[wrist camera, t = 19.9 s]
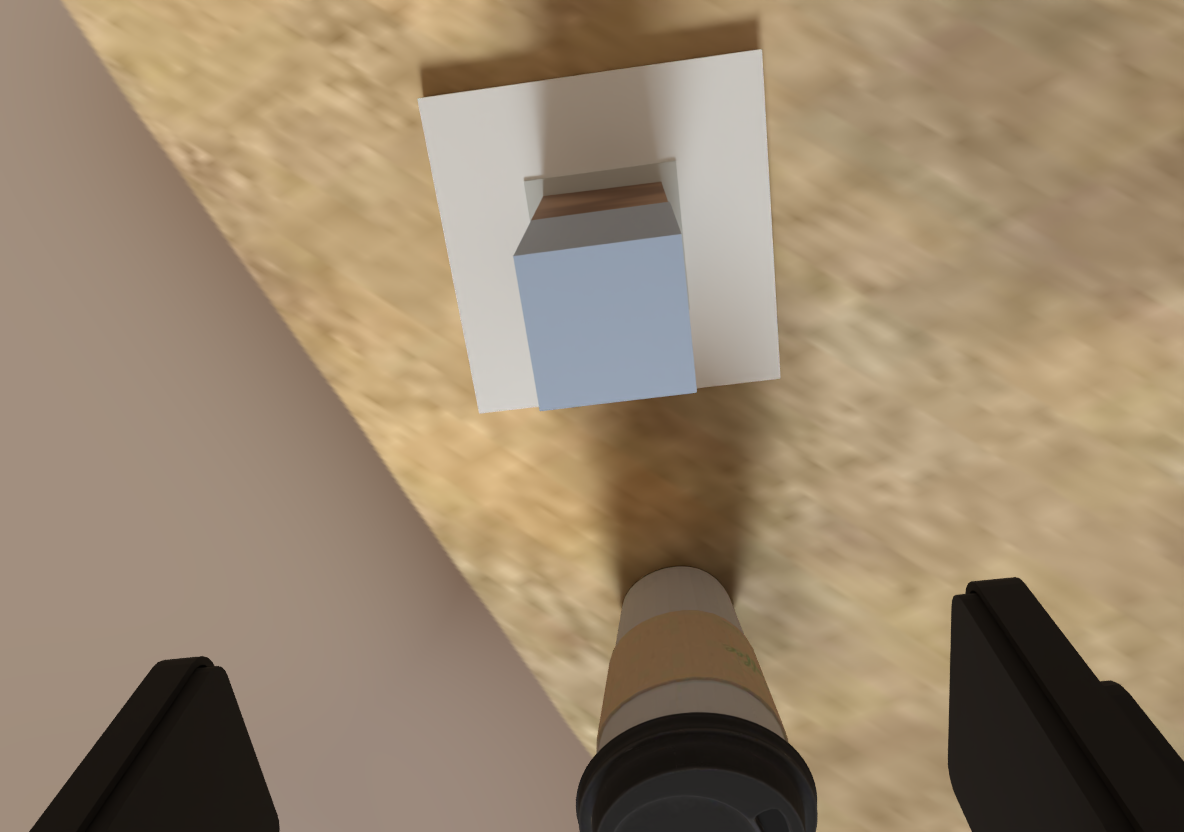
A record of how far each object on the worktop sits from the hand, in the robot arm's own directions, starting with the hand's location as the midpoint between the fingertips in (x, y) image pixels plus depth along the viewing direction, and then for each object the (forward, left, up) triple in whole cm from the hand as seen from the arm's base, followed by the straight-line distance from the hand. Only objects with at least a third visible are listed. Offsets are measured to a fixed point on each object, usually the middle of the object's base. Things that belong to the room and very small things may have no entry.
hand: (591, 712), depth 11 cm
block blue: (0, 0, -23) cm, 23 cm away
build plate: (0, 0, -30) cm, 30 cm away
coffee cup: (-1, +20, -31) cm, 36 cm away
